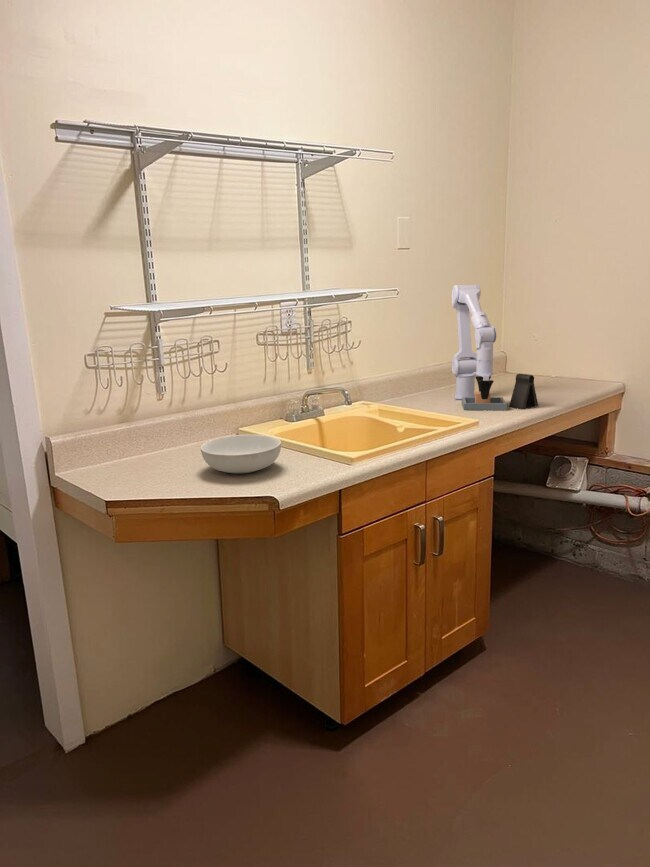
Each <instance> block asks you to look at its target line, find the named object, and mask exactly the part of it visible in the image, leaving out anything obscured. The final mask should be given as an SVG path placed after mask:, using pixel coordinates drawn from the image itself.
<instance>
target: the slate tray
mask: <svg viewBox="0 0 650 867" xmlns="http://www.w3.org/2000/svg"><path fill="white" fill-rule="evenodd" d="M461 406H462V409H463V411H464V410H467V411H468V412H469V411H474V412H475V411H477V412H478V411H479V412H480V411H484V410H486V411H488V410H489V411H492V412H493V411H501V412H502V411H504V410H505V411H506V410H507V409H508V408H507V406H508V404H507V402H506V400H505V399H504V397H502V396H498V397H497V396H490V403H475V397H462V399H461Z"/></svg>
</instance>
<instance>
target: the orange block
mask: <svg viewBox="0 0 650 867" xmlns="http://www.w3.org/2000/svg"><path fill="white" fill-rule="evenodd" d="M474 395H475V403H490V397H491V392H489V396H488V399H482V398H481V392H479V391H474Z"/></svg>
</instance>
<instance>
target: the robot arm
mask: <svg viewBox="0 0 650 867" xmlns="http://www.w3.org/2000/svg"><path fill="white" fill-rule="evenodd" d="M450 296H451V305H452V308H453V309H455V311H456V320H457V321H456V324H457V339H458V341H457V344H458V351H457V352H456V353H455V354H454V355H452V358H451V360H452V361H451V362H452V363H451V371H452V372H451V373H452V374H453V375H454V376H455V394H454V395H453V396H454V399H455V400H462V397H475V388H476V387H475V383H476V382H477V386H478V392H481V398H482V399H488V396H489V392H490V390H491V388H492V385H493V384H494V380H491V379H492V376H493V375H494V372H493V371H494V370H493V368H494V366H493V365H494V364H493V363H494V343H495V342H496V340H497V328H496V327H495V326H493V325H492V324H491V323H490V321H489V319H488V315H487V313H486V312H484V311H482V307H481V303H480V299H481V298H480V297H481V287H480V285H479V284H477V283H475V284H460V285H459V284H458V285H457V284H455V285H454V286H453V287H452V289H451V295H450ZM470 313H471V314H470ZM470 315H471V318H470ZM471 324H472V326H473V329H474V341H475V348H476V353H475V352H474V351H473V350H472V336H471ZM475 379H476V382H475ZM490 393H491V392H490Z"/></svg>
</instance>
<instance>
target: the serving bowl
mask: <svg viewBox="0 0 650 867" xmlns="http://www.w3.org/2000/svg"><path fill="white" fill-rule="evenodd" d="M281 447H282V441H281V439H279V438H277V437H275V436H273V435H265V434H233V435H228V436H227V435H225V436H222V437H218V438H214V439H211V440H207V441H206V442H204V443H202V444H201V446H200V447H199V448H200V452H201V455H202V458H203V460H204V462H205V463H206V464H207V465H208V466H209V467H211V468H212V469H215V470H216V471H220V472H222V473H228V474H250V473H254V472H256V471H260V470H264V469H265V468H268V467H269V466H271V465H272V464H273V463H274V462H275V461H276V460H277V459H278V458H279V456H280V453H281Z"/></svg>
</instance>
